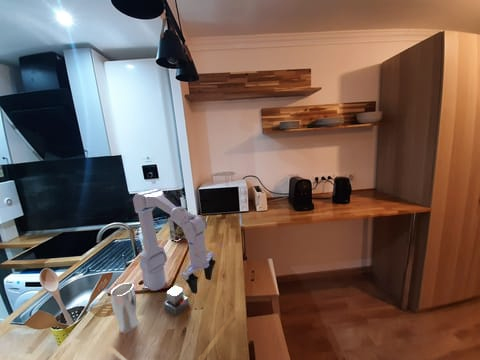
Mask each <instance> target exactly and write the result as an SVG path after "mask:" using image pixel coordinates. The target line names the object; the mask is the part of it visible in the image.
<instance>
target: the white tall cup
mask: <svg viewBox="0 0 480 360" xmlns="http://www.w3.org/2000/svg"><path fill="white" fill-rule="evenodd" d="M135 291H136V290H135V288H134V284H133V283H131V282H123V283H121V284H118V285H117V286H115V287H114V288H112V290H111V291H110V301H111V307H112V311H113V314H114V315H115V318H116V319H117V321H118V326H119V327H118V331H119V333H121V334H127V333H130V332H132V331H133V330H135V329H136V327H137V326H138V325H139V319H138V316H137V295H136V292H135Z"/></svg>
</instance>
